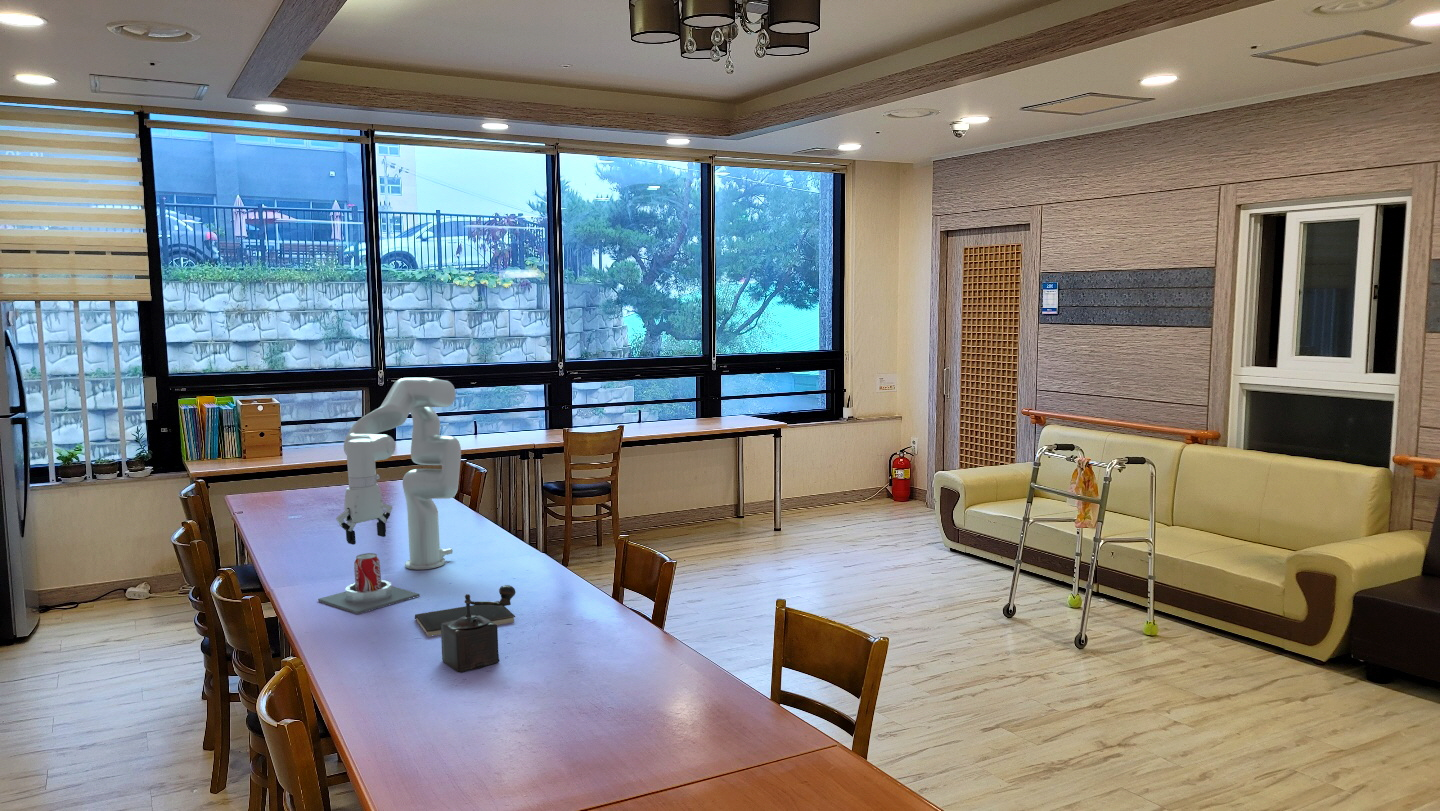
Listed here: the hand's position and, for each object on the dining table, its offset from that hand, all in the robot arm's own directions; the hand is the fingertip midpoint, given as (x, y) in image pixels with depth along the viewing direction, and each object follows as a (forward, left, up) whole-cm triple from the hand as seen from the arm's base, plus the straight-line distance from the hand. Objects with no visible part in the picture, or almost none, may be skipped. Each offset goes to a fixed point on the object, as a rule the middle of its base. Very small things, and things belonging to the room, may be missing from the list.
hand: (366, 539), depth 288 cm
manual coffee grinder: (+12, +66, -18) cm, 70 cm away
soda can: (0, 0, -17) cm, 17 cm away
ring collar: (+1, 0, -17) cm, 17 cm away
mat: (+1, 0, -17) cm, 17 cm away
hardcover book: (-3, +40, -18) cm, 44 cm away
